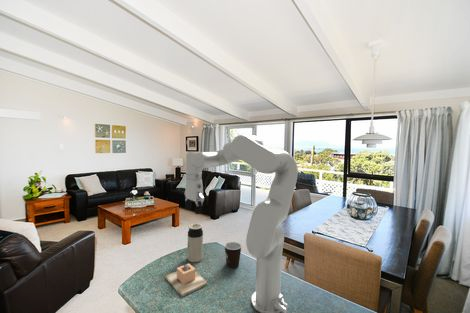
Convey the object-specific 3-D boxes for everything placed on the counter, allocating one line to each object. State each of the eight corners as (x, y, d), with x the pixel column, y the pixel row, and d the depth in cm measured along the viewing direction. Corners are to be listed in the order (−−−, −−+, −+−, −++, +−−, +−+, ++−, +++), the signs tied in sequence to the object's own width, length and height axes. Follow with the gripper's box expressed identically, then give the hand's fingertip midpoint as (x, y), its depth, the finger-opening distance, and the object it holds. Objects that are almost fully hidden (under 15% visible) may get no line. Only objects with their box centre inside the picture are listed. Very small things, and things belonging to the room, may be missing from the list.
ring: (195, 278, 94) (195, 269, 94) (183, 284, 90) (183, 274, 90) (188, 272, 99) (188, 263, 99) (176, 277, 95) (176, 267, 95)
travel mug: (203, 255, 118) (203, 223, 117) (201, 262, 110) (202, 228, 109) (188, 254, 118) (189, 223, 117) (186, 262, 110) (186, 228, 109)
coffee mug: (241, 269, 104) (241, 250, 104) (223, 269, 105) (224, 249, 104) (240, 257, 116) (241, 239, 116) (225, 257, 116) (225, 239, 116)
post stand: (207, 284, 93) (207, 268, 92) (182, 297, 85) (182, 279, 84) (188, 268, 105) (189, 254, 104) (165, 277, 97) (165, 262, 96)
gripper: (210, 178, 100) (209, 214, 101) (191, 174, 113) (191, 206, 114) (196, 179, 95) (195, 217, 96) (178, 175, 108) (178, 208, 109)
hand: (193, 211), depth 105 cm, fingers open, 9 cm apart
